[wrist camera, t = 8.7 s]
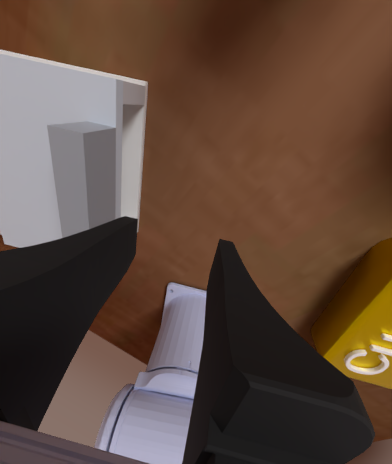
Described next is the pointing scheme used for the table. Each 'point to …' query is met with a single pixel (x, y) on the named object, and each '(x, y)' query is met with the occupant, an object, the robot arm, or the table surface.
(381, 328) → the element tile
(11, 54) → the housing
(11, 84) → the lid
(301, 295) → the table surface
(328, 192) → the table surface
